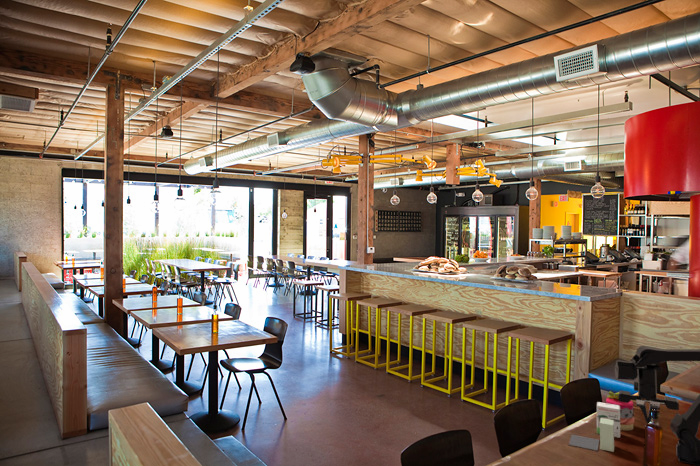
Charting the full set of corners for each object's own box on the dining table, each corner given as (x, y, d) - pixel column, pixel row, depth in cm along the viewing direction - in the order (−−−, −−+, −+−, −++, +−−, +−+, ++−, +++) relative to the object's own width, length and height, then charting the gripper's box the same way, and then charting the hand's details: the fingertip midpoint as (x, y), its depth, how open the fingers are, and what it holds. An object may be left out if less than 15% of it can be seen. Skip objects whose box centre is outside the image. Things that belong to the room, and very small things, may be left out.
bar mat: (599, 440, 183) (599, 439, 183) (597, 451, 174) (597, 450, 174) (571, 435, 188) (571, 434, 188) (568, 445, 179) (568, 444, 179)
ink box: (596, 433, 190) (596, 405, 190) (596, 429, 194) (596, 401, 194) (620, 438, 185) (620, 408, 186) (620, 433, 190) (620, 405, 190)
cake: (609, 419, 205) (608, 385, 206) (636, 425, 198) (636, 390, 199) (603, 426, 197) (603, 391, 198) (632, 432, 190) (631, 396, 191)
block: (614, 445, 178) (613, 420, 179) (613, 451, 173) (613, 425, 173) (600, 443, 181) (600, 417, 181) (600, 449, 176) (599, 422, 176)
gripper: (675, 379, 173) (676, 420, 172) (618, 372, 182) (619, 411, 182) (678, 387, 163) (679, 431, 163) (618, 379, 173) (618, 420, 172)
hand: (648, 423), depth 170 cm, fingers closed
